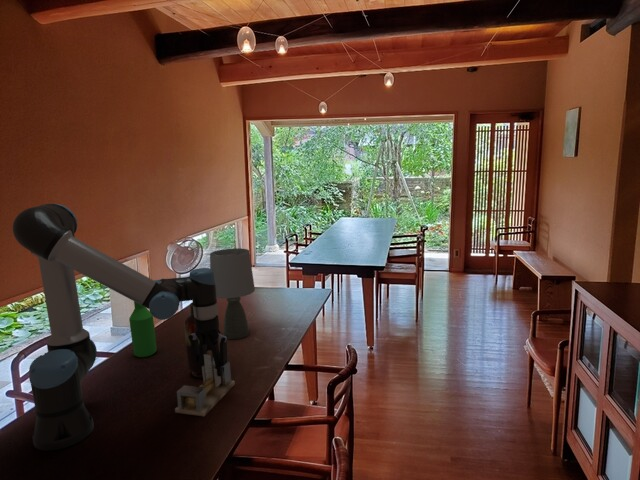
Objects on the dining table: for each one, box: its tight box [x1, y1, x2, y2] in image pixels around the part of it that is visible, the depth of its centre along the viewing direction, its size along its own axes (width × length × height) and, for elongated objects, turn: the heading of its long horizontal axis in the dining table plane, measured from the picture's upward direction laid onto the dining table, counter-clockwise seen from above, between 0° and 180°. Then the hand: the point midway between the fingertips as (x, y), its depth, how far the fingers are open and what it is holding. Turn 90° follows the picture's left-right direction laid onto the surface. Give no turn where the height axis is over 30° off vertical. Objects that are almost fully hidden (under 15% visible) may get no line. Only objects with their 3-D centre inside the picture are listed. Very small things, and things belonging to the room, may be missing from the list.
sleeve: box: [176, 385, 207, 412], centre depth 138 cm, size 4×7×6 cm, turn 74°
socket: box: [221, 361, 232, 386], centre depth 153 cm, size 4×7×7 cm, turn 74°
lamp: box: [209, 247, 256, 340], centre depth 196 cm, size 19×19×37 cm
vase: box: [183, 301, 220, 379], centre depth 162 cm, size 11×11×26 cm
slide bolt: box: [185, 350, 222, 409], centre depth 145 cm, size 18×4×12 cm, turn 164°
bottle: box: [128, 301, 158, 358], centre depth 181 cm, size 9×9×25 cm
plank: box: [174, 380, 236, 417], centre depth 146 cm, size 20×10×1 cm, turn 164°
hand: (212, 383), depth 150 cm, fingers closed on slide bolt, 4 cm apart
